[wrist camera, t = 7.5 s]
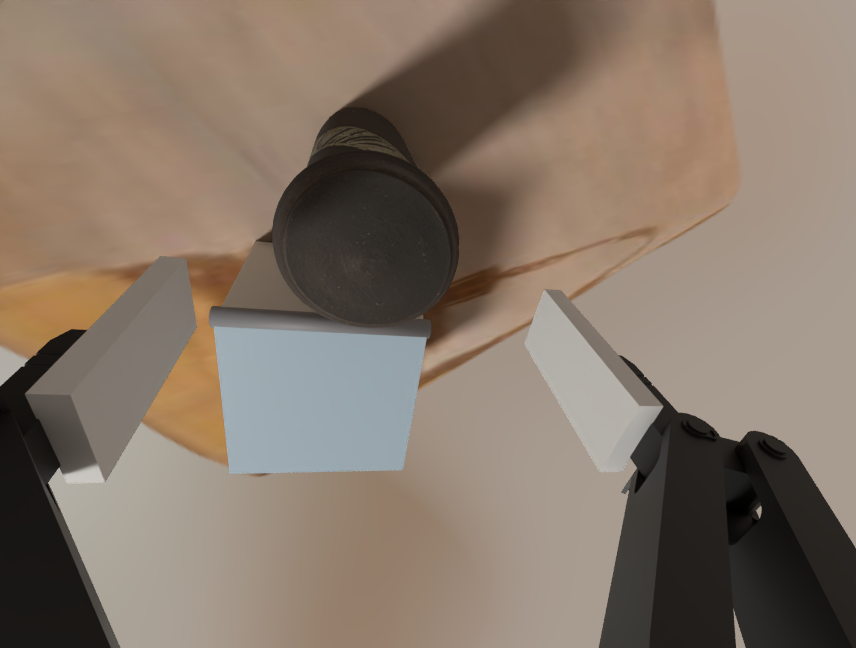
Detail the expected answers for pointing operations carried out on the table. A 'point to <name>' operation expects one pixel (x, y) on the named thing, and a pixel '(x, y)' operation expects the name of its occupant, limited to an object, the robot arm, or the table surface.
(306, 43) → the table surface
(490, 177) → the table surface
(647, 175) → the table surface
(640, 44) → the table surface
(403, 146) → the container
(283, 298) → the box
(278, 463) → the lid
